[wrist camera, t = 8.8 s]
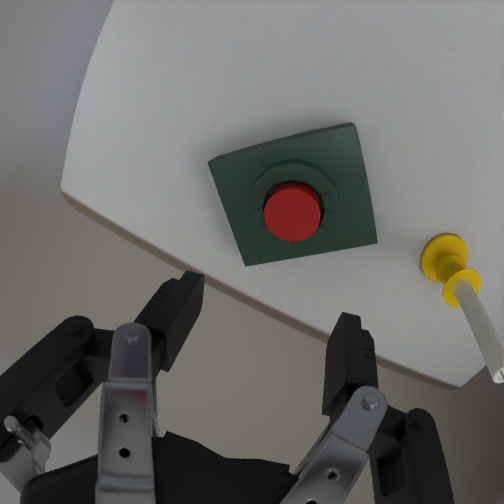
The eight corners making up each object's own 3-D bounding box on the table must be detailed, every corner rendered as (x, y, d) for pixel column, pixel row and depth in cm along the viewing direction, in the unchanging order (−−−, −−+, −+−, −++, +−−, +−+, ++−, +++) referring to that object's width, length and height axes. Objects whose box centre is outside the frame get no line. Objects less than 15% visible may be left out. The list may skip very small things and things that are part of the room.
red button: (276, 236, 24) (272, 246, 22) (261, 189, 22) (256, 196, 21) (325, 226, 23) (325, 236, 21) (313, 177, 21) (312, 183, 19)
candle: (410, 264, 26) (456, 398, 13) (442, 223, 23) (521, 342, 10) (443, 287, 26) (491, 412, 13) (474, 250, 24) (546, 365, 10)
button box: (250, 255, 29) (240, 277, 26) (215, 157, 25) (198, 167, 22) (374, 232, 26) (381, 254, 22) (351, 122, 21) (358, 126, 18)
